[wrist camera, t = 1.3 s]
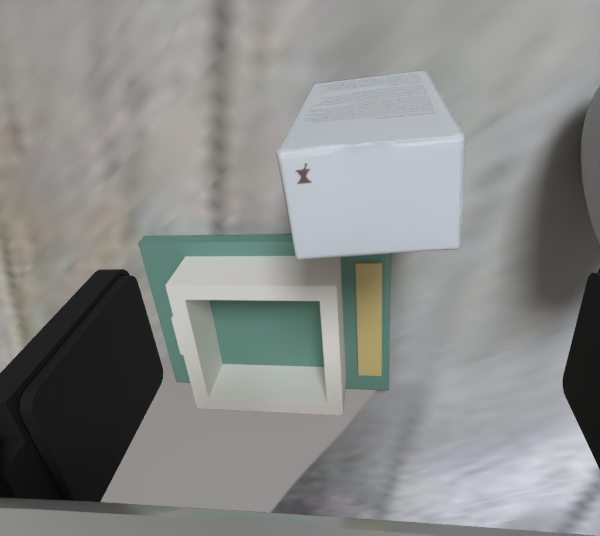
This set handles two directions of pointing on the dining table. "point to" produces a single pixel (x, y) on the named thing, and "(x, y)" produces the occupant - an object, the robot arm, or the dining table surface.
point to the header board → (269, 321)
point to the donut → (592, 162)
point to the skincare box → (373, 169)
